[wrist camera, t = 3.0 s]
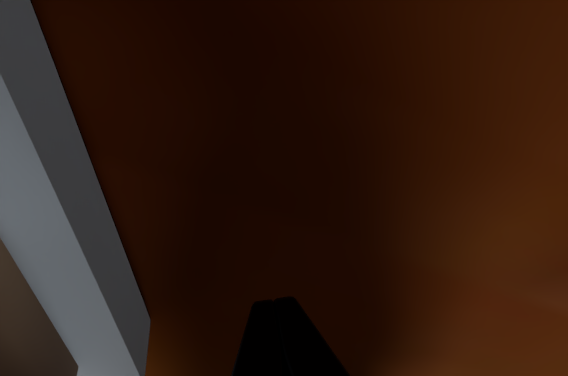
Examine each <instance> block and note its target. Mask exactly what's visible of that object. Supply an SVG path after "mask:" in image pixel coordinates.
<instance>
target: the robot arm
mask: <svg viewBox="0 0 568 376" xmlns="http://www.w3.org/2000/svg"><path fill="white" fill-rule="evenodd" d="M231 376H350V375H349V374H348V372H347V371H346V369H345V368H344V367H343V365H342V364H341V362H340V361H339V359H338V358H337V357H336V355H335V354H334V352H333V351H332V350H331V348H330V347H329V345H328V344H327V343H326V341H325V340H324V338H323V337H322V335H321V334H320V333H319V331H318V330H317V328H316V327H315V326H314V324H313V323H312V321H311V320H310V318H309V317H308V316H307V314H306V313H305V311H304V310H303V309H302V307H301V306H300V304H299V303H298V302H297V300H296V299H295V298H294V297H292V296H290V297H283V298H277V299H275V300H274V302H273V301H272V300H263V301H256V302H254V303H253V305H252V307H251V310H250V314H249V317H248V321H247V324H246V327H245V331H244V334H243V337H242V341H241V344H240V348H239V351H238V354H237V358H236V361H235V364H234V368H233V371H232V375H231Z"/></svg>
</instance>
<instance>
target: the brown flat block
mask: <svg viewBox="0 0 568 376" xmlns="http://www.w3.org/2000/svg"><path fill="white" fill-rule="evenodd" d="M78 368H79V366H78V365H77V363H76V361H75V360H74V358H73V356H72V355H71V353H70V352H69V350H68V348H67V347H66V345H65V343H64V342H63V340H62V338H61V337H60V335H59V333H58V332H57V330H56V329H55V327H54V325H53V324H52V322H51V320H50V319H49V317H48V315H47V314H46V312H45V310H44V309H43V307H42V306H41V304H40V302H39V301H38V299H37V297H36V296H35V294H34V292H33V291H32V289H31V287H30V286H29V284H28V283H27V281H26V279H25V278H24V276H23V274H22V273H21V271H20V269H19V268H18V266H17V264H16V263H15V261H14V260H13V258H12V256H11V255H10V253H9V251H8V250H7V248H6V246H5V245H4V243H3V241H2V240H1V238H0V376H77V372H78Z"/></svg>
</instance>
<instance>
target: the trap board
mask: <svg viewBox="0 0 568 376" xmlns="http://www.w3.org/2000/svg"><path fill="white" fill-rule="evenodd" d="M0 238H1V240H2V241H3V243H4V245H5V246H6V248H7V250H8V251H9V253H10V255H11V256H12V258H13V260H14V261H15V263H16V264H17V266H18V268H19V269H20V271H21V273H22V274H23V276H24V278H25V279H26V281H27V283H28V284H29V286H30V287H31V289H32V291H33V292H34V294H35V296H36V297H37V299H38V301H39V302H40V304H41V306H42V307H43V309H44V310H45V312H46V314H47V315H48V317H49V319H50V320H51V322H52V324H53V325H54V327H55V329H56V330H57V332H58V333H59V335H60V337H61V338H62V340H63V342H64V343H65V345H66V347H67V348H68V350H69V352H70V353H71V355H72V356H73V358H74V360H75V361H76V363H77V365H78V366H79V368H78V372H77V376H145V369H146V360H147V350H148V341H149V331H150V321H151V320H150V317H149V315H148V312H147V309H146V307H145V304H144V301H143V299H142V296H141V293H140V291H139V288H138V285H137V283H136V280H135V277H134V275H133V272H132V270H131V267H130V264H129V262H128V259H127V256H126V254H125V251H124V248H123V246H122V243H121V240H120V238H119V235H118V232H117V230H116V227H115V224H114V222H113V219H112V216H111V214H110V211H109V208H108V206H107V203H106V200H105V198H104V195H103V192H102V190H101V187H100V185H99V182H98V179H97V177H96V174H95V171H94V169H93V166H92V163H91V161H90V158H89V155H88V153H87V150H86V147H85V145H84V142H83V139H82V137H81V134H80V131H79V129H78V126H77V123H76V121H75V118H74V115H73V113H72V110H71V108H70V105H69V102H68V100H67V97H66V94H65V92H64V89H63V86H62V84H61V81H60V78H59V76H58V73H57V70H56V68H55V65H54V62H53V60H52V57H51V54H50V52H49V49H48V46H47V44H46V41H45V38H44V36H43V33H42V30H41V28H40V25H39V23H38V20H37V17H36V15H35V12H34V9H33V7H32V4H31V1H30V0H0Z"/></svg>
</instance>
